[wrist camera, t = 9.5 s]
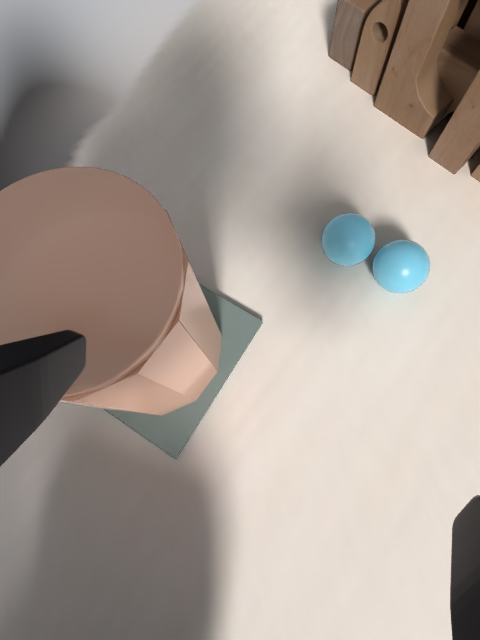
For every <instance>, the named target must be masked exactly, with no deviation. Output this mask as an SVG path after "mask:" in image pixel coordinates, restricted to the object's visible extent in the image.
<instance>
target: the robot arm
mask: <svg viewBox="0 0 480 640" xmlns="http://www.w3.org/2000/svg"><path fill="white" fill-rule="evenodd" d="M85 364H86V337H85V336H84V335H83V334H80V333H78V332H75V331H73V330H63V331H59V332H55V333H50V334H46V335H41V336H37V337H33V338H28V339H24V340H20V341H15V342H11V343H6V344H2V345H0V466H1V465H2V464H3V463H4V462H5V461H6V460H7V459H8V458H9V457H10V456H11V455H12V454H13V453H14V452H15V451H16V450H17V449H18V448H19V446H20V445H21V444H22V443H23V442H24V441H25V440H26V439H27V438H28V437H29V436H30V435H31V434H32V433H33V432H34V431H35V430H36V429H37V428H38V427H39V425H40V424H41V423H42V422H43V421H44V420H45V419H46V417H47V416H48V415H49V414H50V413H51V411H52V410H53V409H54V407H55V406H56V405H57V404H58V402H59V401H60V400H61V398H62V397H63V396H64V395H65V393H66V392H67V391H68V389H69V388H70V387H71V386H72V384H73V383H74V382H75V380H76V379H77V378H78V377H79V375H80V374H81V373H82V371H83V369H84V367H85ZM450 609H451V625H452V638H453V640H480V495H477V496H475V497H473V498H472V499H471V500H470V502H469V503H468V504H467V505H466V506H465V507H464V508H463V510H462V511H461V512H460V513H459V514H458V515H457V517H456V518H455V520H454V523H453V528H452V556H451V587H450Z"/></svg>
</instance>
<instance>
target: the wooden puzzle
mask: <svg viewBox="0 0 480 640" xmlns="http://www.w3.org/2000/svg"><path fill="white" fill-rule="evenodd" d="M329 57H330V58H332V59H333V60H335V61H336V62H338V63H339V64H341V65H342V66H344V67H345V68H347V69H348V70H351V69H352V68H353V72H352V76H351V82H353V83H354V84H356V85H357V86H358V87H360V88H361V89H363V90H364V91H366V92H367V93H369V94H370V95H372V96H375V95H376V94H377V93H378V94H377V97H376V100H375V103H374V107H376V108H377V109H379V110H380V111H382V112H383V113H385V114H386V115H388V116H389V117H391V118H392V119H393V120H395V121H396V122H398V123H399V124H401V125H402V126H404V127H405V128H407V129H408V130H410V131H411V132H413V133H414V134H416V135H417V136H418V137H420V138H421V139H423V138H425V137H426V136H427V135H428V134H429V133H430V132H431V131H432V130H433V129H434V128H435V127H436V126H437V125H438V124H439V123H440V122H441V121H442V120H443V119H444V118H445V117H446V116H447V115H448V114H449V113H452V112H454V111H455V112H454V113H453V115H452V117H451V118H450V120H449V122H448V124H447V125H446V127H445V129H444V130H443V132H442V134H441V135H440V137H439V139H438V140H437V142H436V144H435V145H434V147H433V149H432V150H431V152H430V154H429V156H428V157H430V158H431V159H432V160H434V161H435V162H437V163H438V164H440V165H441V166H443V167H444V168H445V169H447V170H448V171H450V172H451V173H453V174H456V173H457V171H458V170H459V169H460V168H461V167H462V166H463V165H464V164H465V163H466V162H467V161H468V160H469V159H470V158H471V157H472V156H473V155H474V153H475V152H476V151H477V149H478V148H479V147H480V0H338V4H337V10H336V15H335V21H334V27H333V33H332V39H331V45H330V50H329ZM471 176H472V177H473V178H475V179H476V180H478V181H479V182H480V164H479V165H478V166H477V167H476V169H475V170H474V171H473V172H472V174H471Z"/></svg>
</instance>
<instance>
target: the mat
mask: <svg viewBox="0 0 480 640" xmlns="http://www.w3.org/2000/svg"><path fill="white" fill-rule="evenodd" d="M199 285H200V284H199ZM200 288H201V290H202V292H203V294H204V297H205V299H206V301H207V303H208V306H209V308H210V310H211V312H212V315H213V317H214V319H215V322H216V324H217V326H218V328H219V331H220V333H221V335H222V343H221V351H220V359H219V367H218V372H217V373H216V375H215V376H214V377H213V379H212V380H211V381H210V383H209V384H208V385H207V387H206V388H205V389H204V391H203V392H202V393H201V395H200V396H199V398H198V399H197V400H196V401H194V402H192V403H190V404H188V405H185V406H183V407H181V408H179V409H177V410H174V411H172V412H170V413H168V414H165V415H163V416H160V415H151V414H142V413H133V412H125V411H118V410H111V409H105V408H103V409H104V410H106V411H107V412H109V413H110V414H112V415H113V416H114V417H116V418H117V419H119V420H120V421H122V422H123V423H124V424H126V425H127V426H129V427H130V428H132V429H133V430H134V431H136V432H137V433H139V434H140V435H142V436H143V437H144V438H146V439H147V440H149V441H150V442H152V443H153V444H154V445H156V446H157V447H159V448H160V449H162V450H163V451H164V452H166V453H167V454H169V455H170V456H172V457H173V458H174V459H177V457H178V456H179V454H180V452H181V451H182V449H183V448H184V446H185V444H186V443H187V441H188V440H189V438H190V437H191V435H192V433H193V432H194V430H195V429H196V427H197V426H198V424H199V422H200V421H201V419H202V418H203V416H204V414H205V413H206V411H207V410H208V408H209V407H210V405H211V403H212V402H213V400H214V399H215V397H216V396H217V394H218V392H219V391H220V389H221V388H222V386H223V384H224V383H225V381H226V380H227V378H228V377H229V375H230V373H231V372H232V370H233V369H234V367H235V366H236V364H237V362H238V361H239V359H240V358H241V356H242V354H243V353H244V351H245V350H246V348H247V347H248V345H249V343H250V342H251V340H252V339H253V337H254V336H255V334H256V332H257V331H258V329H259V328H260V326H261V324H262V321H261V320H260V319H258V318H256V317H255V316H253V315H251V314H250V313H248V312H246V311H244V310H243V309H241V308H239V307H238V306H236V305H234V304H232V303H231V302H229V301H227V300H226V299H224V298H222V297H220V296H219V295H217V294H215V293H214V292H212V291H210V290H208V289H207V288H205V287H203V286H202V285H200Z"/></svg>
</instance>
